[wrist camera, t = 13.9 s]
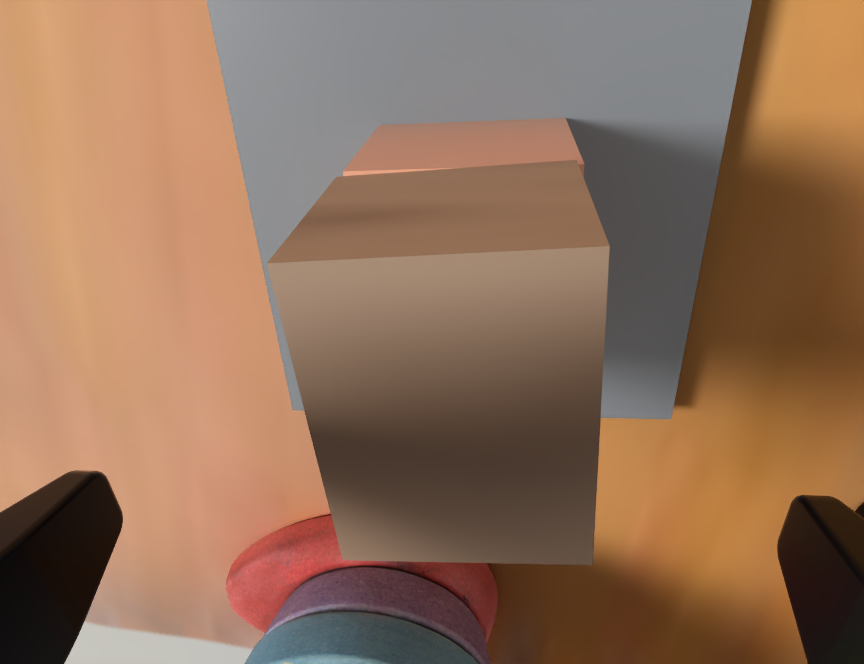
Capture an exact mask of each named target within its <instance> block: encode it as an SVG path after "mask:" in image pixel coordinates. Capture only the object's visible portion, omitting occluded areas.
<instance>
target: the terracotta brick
mask: <svg viewBox="0 0 864 664" xmlns="http://www.w3.org/2000/svg"><path fill="white" fill-rule="evenodd" d="M568 160H577V162H578V164H579V167H580V170H581V172H582V175H583V177H584V162H583V159H582V157H581V154H580V152H579V150H578V147H577V145H576V142H575V140H574V137H573V135H572V133H571V130H570V128H569V125H568V123H567V121H566V118H546V119H521V120H495V121H469V122H443V123H417V124H391V125H379V126H378V127H377V129H376V130H375V131H374V133H373V134H372V135H371V136H370V138H369V139H368V140H367V141H366V143H365V144H364V145H363V146H362V148H361V149H360V150H359V151H358V153H357V154H356V155H355V156H354V158H353V159H352V160H351V162H350V163H349V164H348V165H347V167H346V168H345V169H344V170H343V176H352V175H367V174H381V173H395V172H410V171H424V170H438V169H453V168H467V167H481V166H496V165H510V164H524V163H539V162H553V161H568Z"/></svg>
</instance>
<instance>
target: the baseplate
mask: <svg viewBox="0 0 864 664" xmlns="http://www.w3.org/2000/svg"><path fill="white" fill-rule="evenodd" d="M751 3H752V0H207V5H208V9H209V14H210V19H211V24H212V28H213V33H214V38H215V43H216V47H217V52H218V57H219V62H220V66H221V71H222V76H223V81H224V85H225V90H226V95H227V100H228V104H229V109H230V114H231V119H232V123H233V128H234V133H235V138H236V143H237V147H238V152H239V157H240V162H241V166H242V171H243V176H244V181H245V185H246V190H247V195H248V200H249V204H250V209H251V214H252V219H253V223H254V228H255V233H256V238H257V242H258V247H259V252H260V257H261V261H262V266H263V271H264V276H265V280H266V285H267V290H268V295H269V300H270V304H271V309H272V314H273V319H274V323H275V328H276V333H277V338H278V342H279V347H280V352H281V357H282V361H283V366H284V371H285V376H286V380H287V385H288V390H289V395H290V399H291V404H292V409H293V410H304V407H303V403H302V399H301V395H300V391H299V387H298V383H297V380H296V376H295V372H294V368H293V364H292V360H291V356H290V352H289V348H288V345H287V341H286V337H285V333H284V329H283V325H282V321H281V317H280V313H279V310H278V306H277V302H276V298H275V294H274V290H273V286H272V282H271V278H270V274H269V271H268V267H267V262H268V261H269V260H270V259H271V257H272V256H273V255H274V254H275V252H276V251H277V250H278V249H279V247H280V246H281V245H282V244H283V242H284V241H285V240H286V239H287V237H288V236H289V235H290V234H291V232H292V231H293V230H294V229H295V228H296V226H297V225H298V224H299V223H300V221H301V220H302V219H303V218H304V216H305V215H306V214H307V213H308V211H309V210H310V209H311V208H312V206H313V205H314V204H315V203H316V201H317V200H318V199H319V198H320V196H321V195H322V194H323V193H324V191H325V190H326V189H327V188H328V186H329V185H330V184H331V183H332V181H333V180H334V179H335V178H336V177H338V176H343V170H344V169H345V168H346V167H347V165H348V164H349V163H350V162H351V160H352V159H353V158H354V156H355V155H356V154H357V153H358V151H359V150H360V149H361V148H362V146H363V145H364V144H365V143H366V141H367V140H368V139H369V138H370V136H371V135H372V134H373V133H374V131H375V130H376V129H377V127H378V126H379V125H391V124H417V123H443V122H469V121H495V120H521V119H546V118H566V121H567V123H568V125H569V128H570V130H571V133H572V135H573V137H574V140H575V142H576V145H577V147H578V150H579V152H580V154H581V157H582V159H583V162H584V180H585V183H586V185H587V188H588V190H589V193H590V196H591V198H592V201H593V204H594V206H595V209H596V211H597V214H598V217H599V219H600V222H601V225H602V227H603V230H604V232H605V235H606V238H607V240H608V243H609V246H610V250H609V269H608V288H607V306H606V325H605V343H604V362H603V380H602V399H601V417H600V418H637V419H671V418H672V412H673V407H674V402H675V397H676V392H677V387H678V381H679V376H680V371H681V366H682V361H683V355H684V350H685V345H686V340H687V335H688V330H689V324H690V319H691V314H692V309H693V304H694V298H695V293H696V288H697V283H698V278H699V273H700V267H701V262H702V257H703V252H704V247H705V242H706V236H707V231H708V226H709V221H710V216H711V210H712V205H713V200H714V195H715V190H716V185H717V179H718V174H719V169H720V164H721V159H722V153H723V148H724V143H725V138H726V133H727V128H728V122H729V117H730V112H731V107H732V102H733V96H734V91H735V86H736V81H737V76H738V71H739V65H740V60H741V55H742V50H743V45H744V39H745V34H746V29H747V24H748V19H749V14H750V8H751Z"/></svg>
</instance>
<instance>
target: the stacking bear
mask: <svg viewBox="0 0 864 664" xmlns="http://www.w3.org/2000/svg"><path fill="white" fill-rule="evenodd" d="M226 591H227V594H228V597H229V600H230V605H231V607H232V609H233V610H234V611H235V612H236V613H237V614H238V615H239V616H240V617H241V618H243V619H244V620H245V621H247V622H248V623H249V624H251V625H252V626H254V627H255V628H257V629H259V630H261V631H263V632H265V634H264V636H263V638H262V639H261V640H260V641H259V642H258V643H257V644H256V646H255V647H254V649H253V650H252V652H251V654H250V656H249V657H248V659H247V661H246V662H245V664H491V663H490V658H489V654H488V649H487V646H486V645H487V642H488V640H489V637H490V635H491V632H492V628H493V625H494V621H495V617H496V612H497V606H498V590H497V585H496V581H495V578H494V575H493V573H492V572H491V570H490V568H489V566H488V565H487V563H455V562H405V561H354V560H343V559H342V555H341V551H340V547H339V543H338V539H337V535H336V531H335V528H334V524H333V520H332V516H331V515H330V516H325V517H319V518H314V519H310V520H307V521H303V522H300V523H297V524H293V525H290V526H288V527H285V528H283V529H280V530H278V531H276V532H273V533H271V534H269V535H268V536H266V537H264V538H262V539H261V540H259V541H258V542H256V543H254V544H253V545H252V546H250V547H249V548H248V549H246V550H245V551H244V552H243V553H242V554H241V555H240V556H239V557H238V558H237V559H236V560H235V561H234V563H233V564H232V566H231V568H230V571H229V574H228V577H227V581H226Z"/></svg>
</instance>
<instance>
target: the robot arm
mask: <svg viewBox="0 0 864 664" xmlns="http://www.w3.org/2000/svg"><path fill="white" fill-rule="evenodd" d="M122 523H123V515H122V511H121V508H120V506H119V504H118V501H117V499H116V497H115V495H114V492H113V490H112V488H111V486H110V483H109V481H108V479H107V477H106V476H105V475H104V474H103V473H102V472H98V471H78V470H76V471H71V472H68V473H66V474H64V475H62V476H61V477H59V478H57V479H56V480H54V481H52V482H51V483H49V484H47V485H46V486H44V487H42V488H41V489H39V490H37V491H36V492H34V493H32V494H31V495H29V496H27V497H25V498H24V499H22V500H20V501H19V502H17V503H15V504H14V505H12V506H10V507H9V508H7V509H5V510H4V511H2V512H0V664H64V663H65V661H66V659H67V657H68V655H69V653H70V651H71V649H72V647H73V645H74V643H75V641H76V639H77V636H78V635H79V632H80V630H81V628H82V625H83V623H84V621H85V619H86V616H87V614H88V611H89V609H90V606H91V604H92V601H93V599H94V596H95V594H96V591H97V589H98V586H99V584H100V581H101V579H102V576H103V574H104V571H105V569H106V566H107V564H108V561H109V559H110V557H111V554H112V552H113V549H114V547H115V544H116V542H117V539H118V537H119V534H120V532H121V528H122ZM777 551H778V559H779V563H780V566H781V570H782V573H783V577H784V580H785V584H786V588H787V591H788V595H789V598H790V602H791V605H792V609H793V612H794V616H795V620H796V623H797V627H798V630H799V634H800V637H801V641H802V644H803V648H804V652H805V655H806V659H807V662H808V664H864V504H863V505H861V506H860V507H858V508H857V510H856V511H855V512H854V511H853V510H852V509H850V508H849V507H848V506H846V505H845V504H844V503H842V502H841V501H839V500H838V499H836V498H834V497H830V496H812V495H800V496H797V497H796V498H795V499H793V501H792V503H791V505H790V508H789V511H788V513H787V516H786V519H785V522H784V525H783V527H782V530H781V533H780V536H779V539H778V545H777Z"/></svg>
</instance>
